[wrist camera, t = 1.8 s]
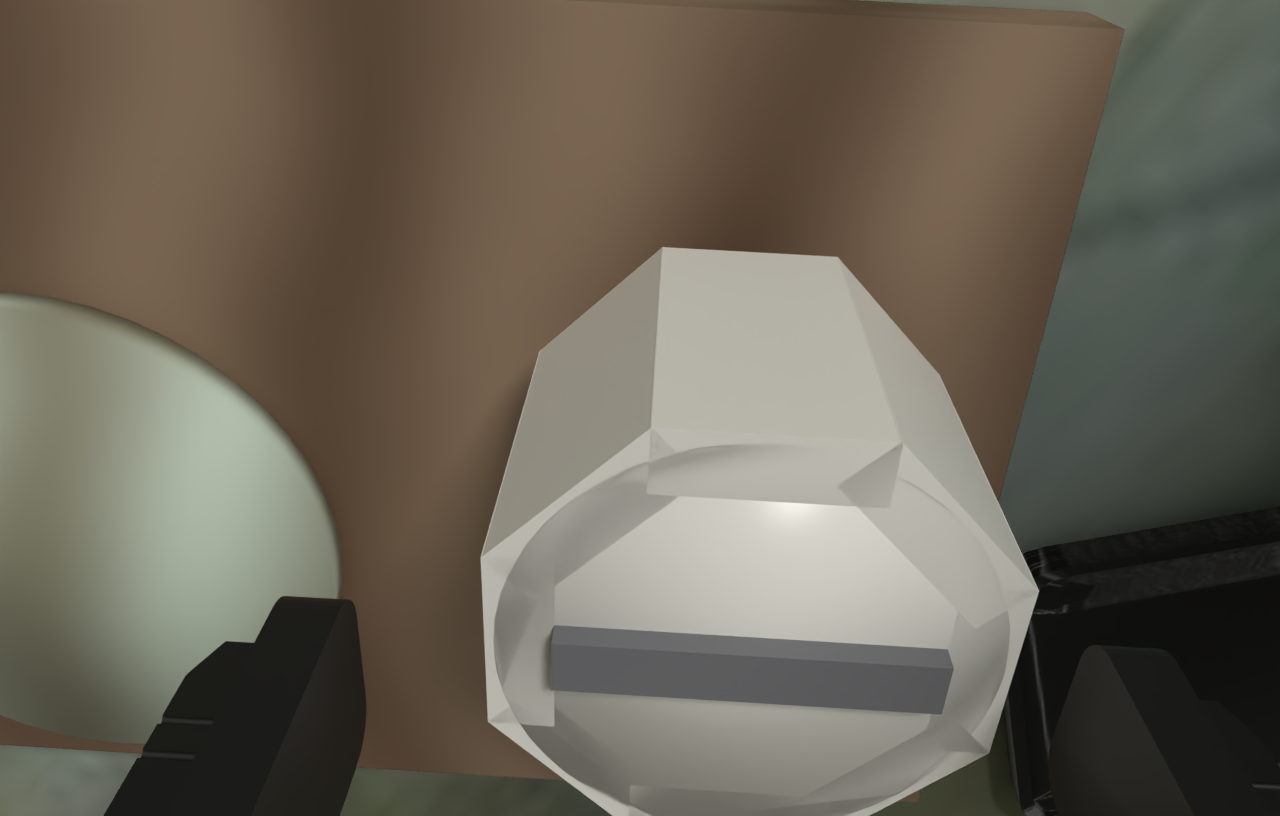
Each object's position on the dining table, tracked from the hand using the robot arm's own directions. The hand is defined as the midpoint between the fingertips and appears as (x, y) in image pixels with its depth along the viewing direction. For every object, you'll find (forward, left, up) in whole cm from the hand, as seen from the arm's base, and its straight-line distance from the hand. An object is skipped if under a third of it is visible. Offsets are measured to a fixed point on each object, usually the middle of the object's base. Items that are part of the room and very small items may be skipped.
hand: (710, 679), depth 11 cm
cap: (0, 0, -5) cm, 5 cm away
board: (+6, +2, -8) cm, 10 cm away
